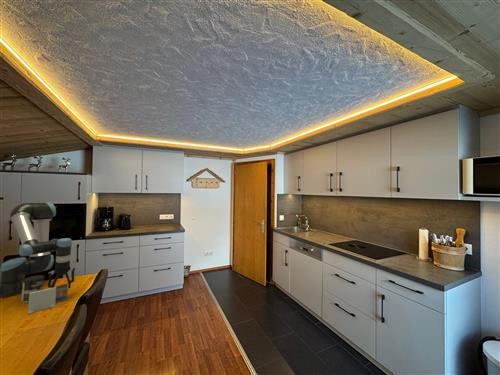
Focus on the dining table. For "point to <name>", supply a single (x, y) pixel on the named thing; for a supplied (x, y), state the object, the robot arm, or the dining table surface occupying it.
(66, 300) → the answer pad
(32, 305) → the screen
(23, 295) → the coffee can
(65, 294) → the brown cube
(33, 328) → the dining table surface
